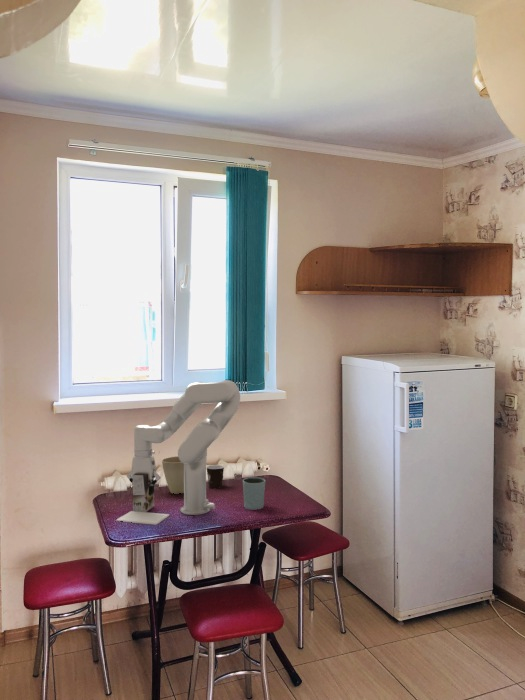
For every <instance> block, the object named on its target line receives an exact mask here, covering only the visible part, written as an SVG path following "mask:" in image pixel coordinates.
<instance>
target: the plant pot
mask: <svg viewBox="0 0 525 700" xmlns="http://www.w3.org/2000/svg"><path fill="white" fill-rule="evenodd" d="M161 463H162V469H163V474H164V478H165V481H166V484H167V487H168V490H169V492H170V494H173V493H174V494H175V495H179V493H181V494H184V463H182V462H181V461H180V459H179V457H178V455H177V456H168V457H165V458H163V459H161Z"/></svg>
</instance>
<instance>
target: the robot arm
mask: <svg viewBox="0 0 525 700" xmlns="http://www.w3.org/2000/svg"><path fill="white" fill-rule="evenodd" d="M240 403H241V394H240V389H239V388H238V385H237V384H236V383H235V382H234V381H232V380H229V379H227V380H226V379H225V380H222V381H218V382H203V381H196V382H192V383H190V384H188V385H187V387H186V389H185V391H184V393H183V394H182V395H181V397H180V398H179V399H177V401H176V402H174V404H173V406H172V409H171V412H169V414H168V415H167V416H166V417H165V418H164V419H163V420H162V422H160V423H159V424H157V425H153V426H151V425H150V424H138V425H136V426H135V427H134V428H133V440H134V441H133V447H134V448H133V449H134V452H133V453H134V455H133V457H132V461H131V462H132V463H131V468H130V470H131V471H129V472H128V473H127V474H126V477H127V479H128V480H129V482H130V483H131V485H132V486H133V474H148V480H149V484H150V486H149V495H152V494H154V495H155V485H156V484H157V483H158V482H159V480H161V478H162V477H161V476H160V474H158V473H157V465H156V460H155V457H154V455H155V451H154V450H153V444H162V443H163V442H165V441H167V440H168V439H170V438H171V437H172V436H173V435H174V434H175V433H176V432H177V431H178V430H179V429H180V428H181V427H182V425H183V424H184V423H185V422H186V421H187V420H188V419H189V418H190V416H192V414H194V412H195V411H196V410H197V409H198V408H199V407H200V406H201V405H202V404H216V406H215V407H214V408H213V409H212V411H211V412H210V413H209V415H208V416H207V417H206V418H205V419H204V420H202V421H201V422H199V423H198V424H197V425H196V426H195V427H194V428H193V429H192V430H191V432H190V433H189V434H188V436H187V437H186V438H185V439H184V440H183V442H182V443H181V444H180V446H179V447H178V449H177V456H178V457H179V459H180V461H181V462H182V463H184V493H183V506H182V507H180V513H182V514H184V515H188V516H199V515H203V514H207V513H209V512H210V511H211V510H214V509H215V508H216V504H215V503H214V502H210V501H209V499H207V458H208V457H207V456H208V448H209V447H210V446H211V445H212V444H213V442H214V441H216V439H218V437H219V436H220V435H221V434H222V432H223V430H224V429H225V427H226V426H227V425H229V422H230V421H231V420H232V419H233V417H234V416H235V414H236V413H237V412H238V409H239V406H240ZM153 478H154V479H153Z"/></svg>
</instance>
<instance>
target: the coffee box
mask: <svg viewBox="0 0 525 700" xmlns="http://www.w3.org/2000/svg"><path fill="white" fill-rule="evenodd" d="M153 479H154V480H155V478H153ZM149 486H150V484H149V480H148V474H133V485H132V511H136V512H148V511H149V510H151V509H153V508H154V507H155V493H154V494H152V495H149Z"/></svg>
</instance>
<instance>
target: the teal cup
mask: <svg viewBox="0 0 525 700" xmlns="http://www.w3.org/2000/svg"><path fill="white" fill-rule="evenodd" d="M242 489H243V507H245V508H244V509H246V510H251V511H254V510H255V511H256V510H257V509H258V510H261V508H262V509H263V508H264V506H265V504H264V502H265V491H266V479H265V478H262V477H258V476H256V477H253V476H252V477H245V478H243V479H242Z"/></svg>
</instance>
